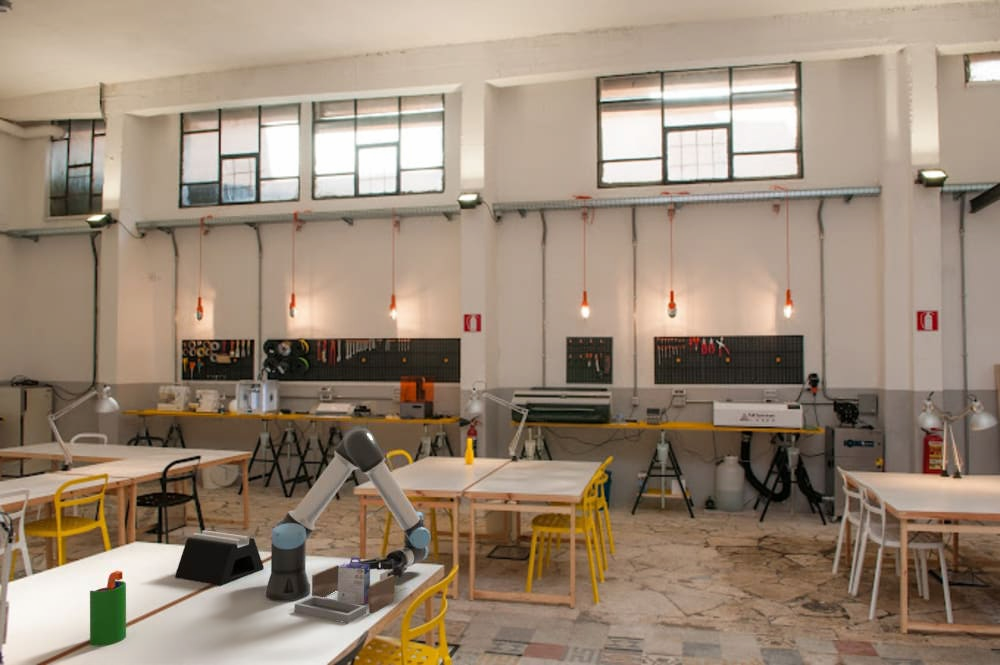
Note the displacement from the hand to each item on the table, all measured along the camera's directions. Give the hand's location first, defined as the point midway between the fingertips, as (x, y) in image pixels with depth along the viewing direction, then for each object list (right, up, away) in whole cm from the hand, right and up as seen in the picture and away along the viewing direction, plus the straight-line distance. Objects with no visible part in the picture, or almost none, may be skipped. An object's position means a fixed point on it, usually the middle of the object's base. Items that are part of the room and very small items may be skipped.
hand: (364, 575), depth 260 cm
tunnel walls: (-3, -7, -5) cm, 9 cm away
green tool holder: (-69, -7, -38) cm, 79 cm away
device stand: (-60, -8, +26) cm, 66 cm away
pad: (+3, -8, +8) cm, 12 cm away
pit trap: (-9, -7, -15) cm, 19 cm away
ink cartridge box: (-3, -8, -4) cm, 9 cm away
